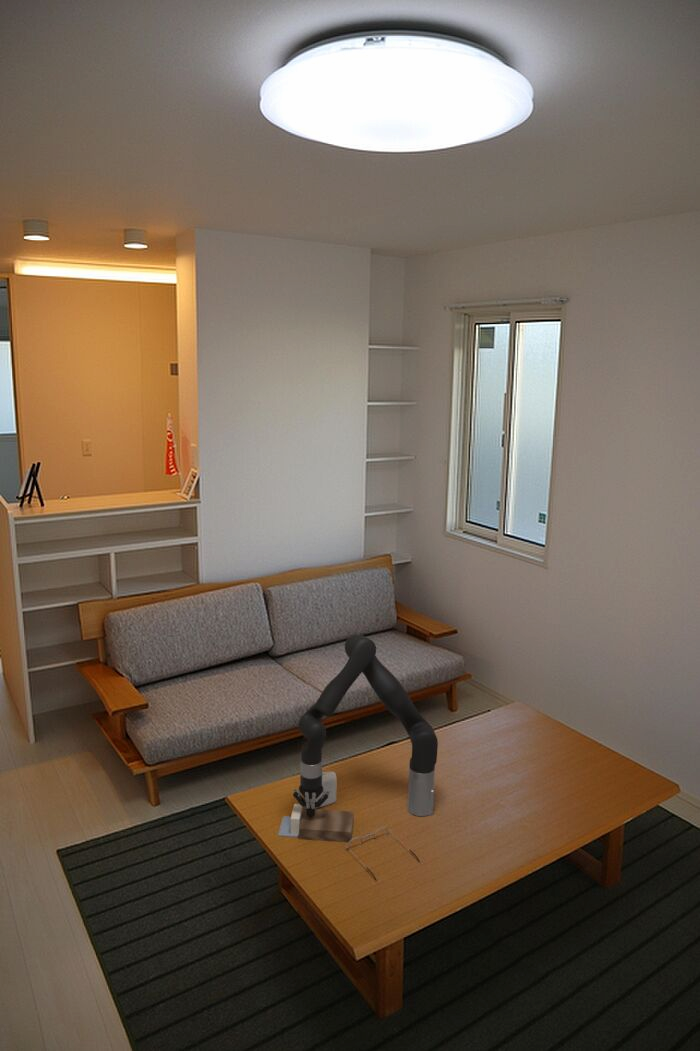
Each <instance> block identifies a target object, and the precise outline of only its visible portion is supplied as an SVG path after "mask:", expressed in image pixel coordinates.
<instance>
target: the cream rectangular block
mask: <svg viewBox="0 0 700 1051" xmlns="http://www.w3.org/2000/svg"><path fill="white" fill-rule="evenodd" d="M303 810H304V807H302V806H301V805H300V803H294V805H293V808H292V811H291V816H290V817H291V834H296V835H298V836H299V827H300V823H301V819H302V814H303Z"/></svg>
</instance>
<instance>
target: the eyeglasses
mask: <svg viewBox="0 0 700 1051" xmlns="http://www.w3.org/2000/svg"><path fill="white" fill-rule="evenodd" d="M384 828H385V829H386V832H385V834H384V836H386V835H387V834H388V832H390V833H391V834H392V835H393V836H394V837H395V838H396V839H397V840H398V841H400V842H401V844H403V842H402V841H401V840H400V839H399V838H398V837H396V835H395V834H394V833H393V832H392V831H391V830H390V828H389V829H388V828H387V826H382V827H379V828H378V829H376V830H375V831H374V832H372V833H369V834H366V835H364V836H363V837H361V836H356V837H353V838H352V839H351V840H350V841H349V842H347V845H345V847H346V849H348V850H349V851H350V852H351V853H352V854H353V855H354V856H355V857H357V855H356V854H355V853H354V852H353V851H352V850H351V848H350V847H349V846H350V843H352V841H353V840H356V839H358V838H361V840H360V842H359V844H358V846H360V845H361V844H362V842H363V840H364V839H365V838H367V837H370V836H373V838H374V839H376V840H377V837H375V836H376V833H377V832H378V831H379V830H381V829H384ZM408 851H409V852H410V853H411V854H412V855H413V856H414V857H415V858H416V859H417V861H418V863H419V862H420V863H421V861H420V860H419V857H418V856H417V854H416V853H414V852H413V851H412V850H411V849H408ZM360 863H361V864H362V865H363V866H364V867H365V868H366V869H367V871H368V872H369V874H371V875H372V876H373V878H374V880H375V882H378V880H377V878H376V876H375V875H374V873H373V872H372V871H371V870H370V869H369V868H368V866H366V865H365V864H364V863H363V862H362V861H360Z"/></svg>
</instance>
